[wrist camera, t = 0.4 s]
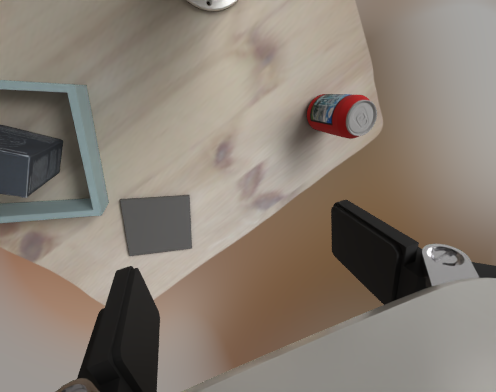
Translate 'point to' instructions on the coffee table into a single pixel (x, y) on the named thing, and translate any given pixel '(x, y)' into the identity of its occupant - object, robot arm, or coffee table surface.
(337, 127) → the beverage can
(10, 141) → the box
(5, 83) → the cubby
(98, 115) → the coffee table surface
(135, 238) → the mat
